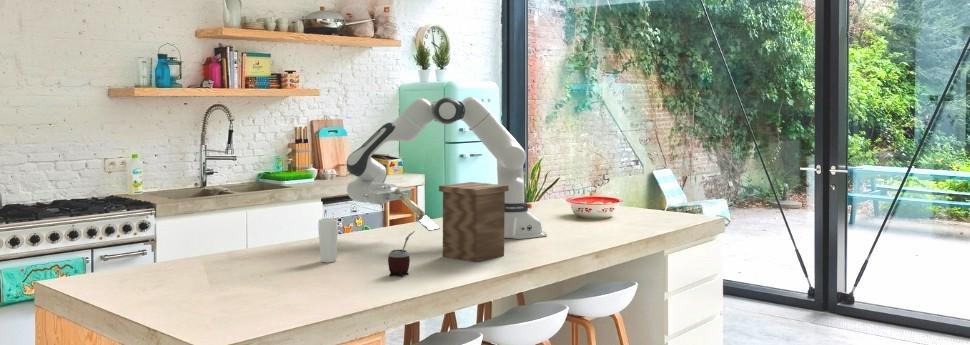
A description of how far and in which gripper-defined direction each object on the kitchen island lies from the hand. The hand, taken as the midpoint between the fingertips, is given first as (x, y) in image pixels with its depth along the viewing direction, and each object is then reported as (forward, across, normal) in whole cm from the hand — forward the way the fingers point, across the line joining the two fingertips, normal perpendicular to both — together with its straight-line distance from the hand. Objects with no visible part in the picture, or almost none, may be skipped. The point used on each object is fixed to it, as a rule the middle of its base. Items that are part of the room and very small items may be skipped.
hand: (403, 196), depth 341 cm
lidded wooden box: (+36, 0, +19) cm, 40 cm away
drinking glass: (+4, -41, +19) cm, 46 cm away
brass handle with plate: (+6, 0, +5) cm, 8 cm away
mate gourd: (+39, -41, +19) cm, 59 cm away
